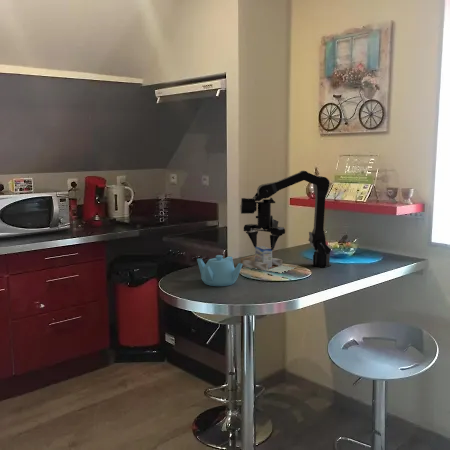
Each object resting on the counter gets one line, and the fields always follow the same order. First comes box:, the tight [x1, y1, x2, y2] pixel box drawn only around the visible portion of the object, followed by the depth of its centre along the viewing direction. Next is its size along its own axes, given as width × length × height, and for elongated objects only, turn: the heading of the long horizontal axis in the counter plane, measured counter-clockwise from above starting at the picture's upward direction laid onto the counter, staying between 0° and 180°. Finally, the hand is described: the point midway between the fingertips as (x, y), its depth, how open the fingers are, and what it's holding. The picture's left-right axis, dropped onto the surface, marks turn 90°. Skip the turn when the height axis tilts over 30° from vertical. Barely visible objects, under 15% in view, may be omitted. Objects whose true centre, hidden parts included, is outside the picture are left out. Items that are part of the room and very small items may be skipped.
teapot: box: [196, 254, 243, 287], centre depth 200 cm, size 15×15×11 cm
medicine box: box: [254, 245, 273, 269], centre depth 227 cm, size 8×4×9 cm, turn 25°
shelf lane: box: [240, 254, 283, 272], centre depth 228 cm, size 14×12×4 cm
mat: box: [266, 264, 296, 274], centre depth 222 cm, size 7×12×1 cm, turn 140°
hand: (263, 248), depth 227 cm, fingers open, 9 cm apart
